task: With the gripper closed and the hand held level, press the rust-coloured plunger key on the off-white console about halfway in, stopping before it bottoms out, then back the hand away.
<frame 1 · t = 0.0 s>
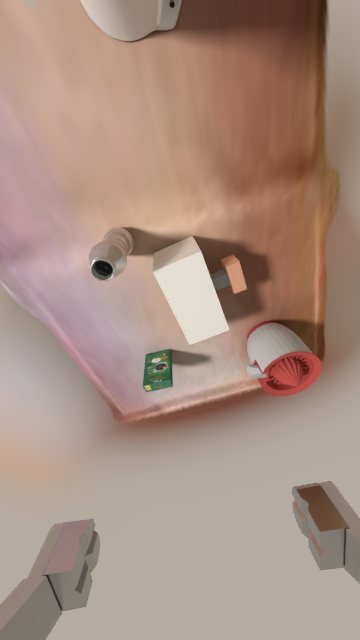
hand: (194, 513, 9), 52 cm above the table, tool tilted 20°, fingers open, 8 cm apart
plastic bottle: (120, 240, 53), on the table
key: (219, 280, 53), point 7 cm above the table, slide at 0.0 cm
citrus juicer: (261, 336, 72), on the table
coffee box: (158, 354, 72), on the table
console: (205, 272, 59), on the table
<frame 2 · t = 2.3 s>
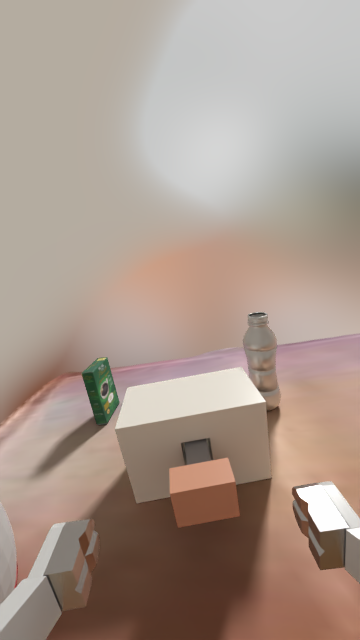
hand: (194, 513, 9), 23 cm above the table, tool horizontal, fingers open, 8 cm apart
plastic bottle: (264, 405, 49), on the table
key: (199, 464, 29), point 7 cm above the table, slide at 0.0 cm
coffee box: (109, 413, 55), on the table
console: (204, 490, 33), on the table
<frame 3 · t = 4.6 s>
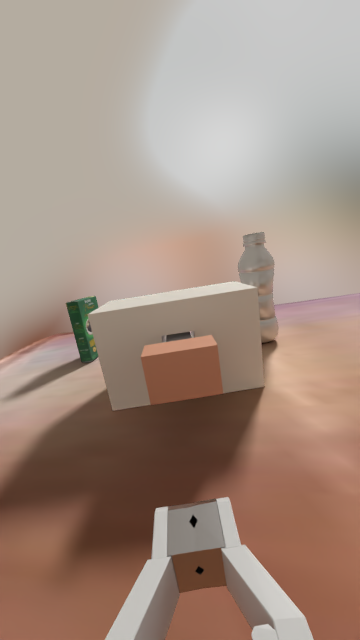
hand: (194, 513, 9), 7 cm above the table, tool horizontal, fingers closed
plastic bottle: (261, 341, 45), on the table
key: (180, 355, 26), point 7 cm above the table, slide at 0.0 cm
coffee box: (96, 355, 52), on the table
console: (188, 398, 30), on the table
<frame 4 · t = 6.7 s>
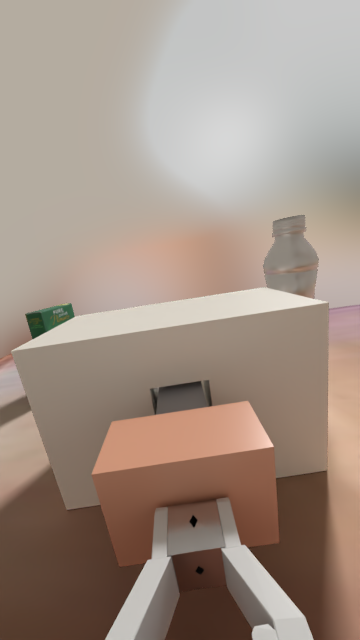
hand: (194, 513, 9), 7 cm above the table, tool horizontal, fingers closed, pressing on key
plastic bottle: (293, 368, 33), on the table
key: (184, 425, 14), point 7 cm above the table, slide at 0.5 cm, touching gripper
coffee box: (71, 381, 40), on the table
console: (196, 490, 17), on the table
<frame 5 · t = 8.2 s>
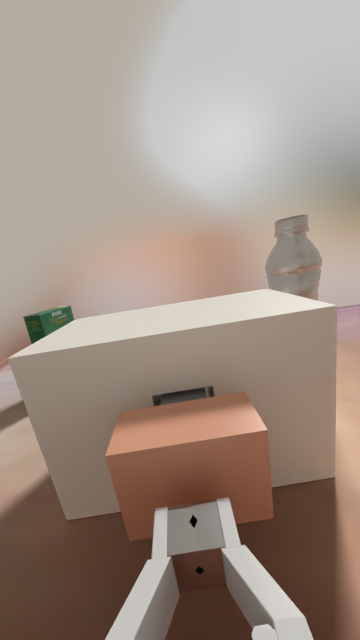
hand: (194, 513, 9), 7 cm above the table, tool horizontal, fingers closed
plastic bottle: (296, 370, 32), on the table
key: (186, 416, 15), point 7 cm above the table, slide at 2.1 cm
coffee box: (70, 384, 39), on the table
console: (200, 498, 17), on the table
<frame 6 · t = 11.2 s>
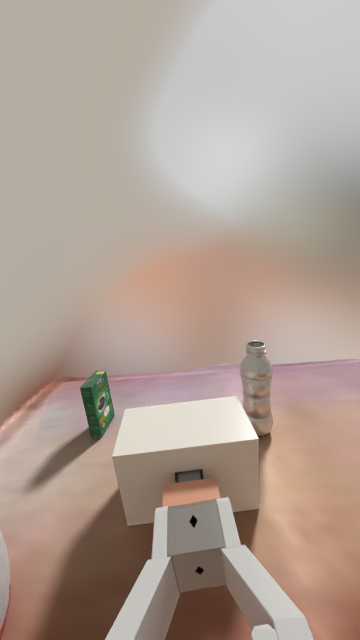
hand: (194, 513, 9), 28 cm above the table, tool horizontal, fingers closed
plastic bottle: (256, 429, 50), on the table
key: (189, 481, 32), point 7 cm above the table, slide at 2.1 cm
coffee box: (104, 426, 56), on the table
console: (193, 517, 34), on the table
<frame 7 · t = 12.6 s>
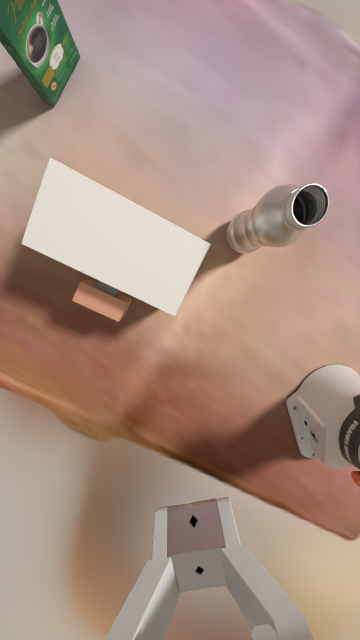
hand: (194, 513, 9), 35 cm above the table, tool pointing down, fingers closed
plastic bottle: (241, 234, 40), on the table
key: (113, 278, 34), point 7 cm above the table, slide at 2.1 cm
coffee box: (60, 76, 34), on the table
console: (122, 276, 41), on the table
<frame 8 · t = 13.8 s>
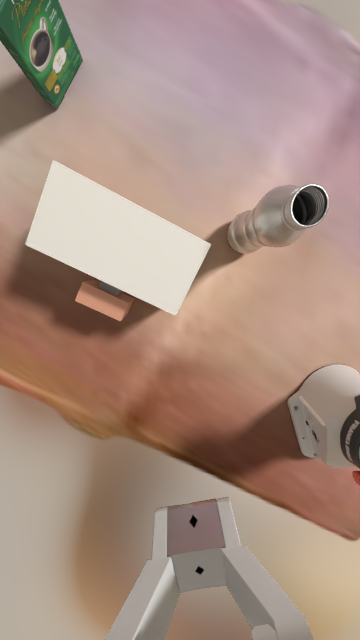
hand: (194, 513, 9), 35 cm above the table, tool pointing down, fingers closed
plastic bottle: (242, 234, 40), on the table
key: (115, 278, 34), point 7 cm above the table, slide at 2.1 cm
coffee box: (63, 79, 34), on the table
console: (124, 276, 41), on the table
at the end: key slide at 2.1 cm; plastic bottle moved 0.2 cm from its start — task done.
